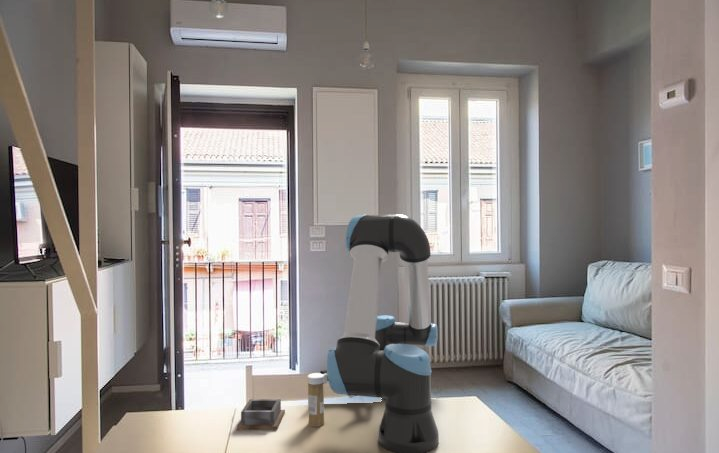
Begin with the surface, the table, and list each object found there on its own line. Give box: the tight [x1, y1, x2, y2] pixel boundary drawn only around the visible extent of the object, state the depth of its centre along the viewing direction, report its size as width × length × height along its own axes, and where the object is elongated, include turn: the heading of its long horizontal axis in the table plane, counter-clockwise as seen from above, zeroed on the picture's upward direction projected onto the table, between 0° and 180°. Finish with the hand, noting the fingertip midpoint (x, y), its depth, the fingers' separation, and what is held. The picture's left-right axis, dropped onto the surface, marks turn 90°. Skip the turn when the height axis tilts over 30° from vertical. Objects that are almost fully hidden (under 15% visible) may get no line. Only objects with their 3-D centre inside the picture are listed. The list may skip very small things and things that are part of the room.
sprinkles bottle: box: [307, 372, 325, 428], centre depth 123 cm, size 5×5×13 cm
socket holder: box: [235, 398, 286, 431], centre depth 125 cm, size 11×11×4 cm
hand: (330, 388), depth 130 cm, fingers open, 13 cm apart
